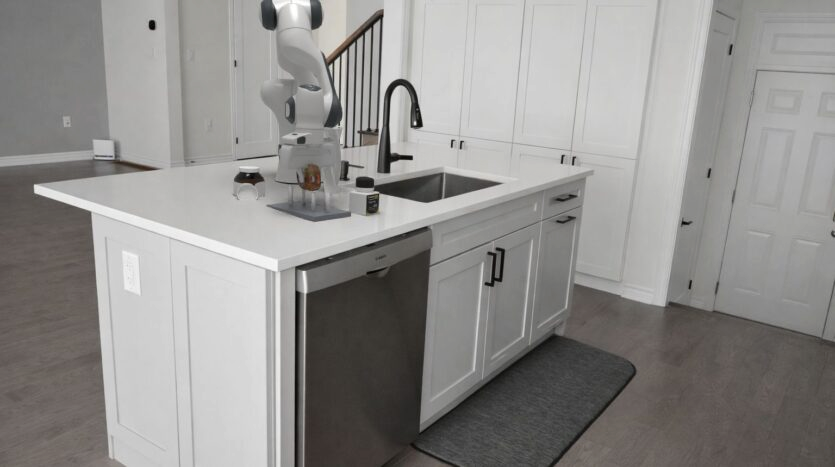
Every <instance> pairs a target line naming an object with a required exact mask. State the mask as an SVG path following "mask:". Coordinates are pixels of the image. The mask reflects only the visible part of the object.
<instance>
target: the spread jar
mask: <svg viewBox="0 0 835 467" xmlns="http://www.w3.org/2000/svg"><path fill="white" fill-rule="evenodd" d="M265 183H266V180H265V178H264V176H263V175H262V174H261V173H260V167H259V166H250V165H245V166H244V165H243V166H242V165H241V166H238V173H237V174H236V175H235V176H234V178H233V187H232V188H233V195H234V196H235V197H237V199H238V200H239V201H240V200H255V201H257V199H258V198H261V197H262V198H263V197H264V196H265V194H266V184H265Z"/></svg>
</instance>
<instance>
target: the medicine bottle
mask: <svg viewBox="0 0 835 467" xmlns="http://www.w3.org/2000/svg"><path fill="white" fill-rule="evenodd" d="M348 197H349V199H348V200H349V202H348V204H349V205H348V211H350V212H351V214H356V215H358V216H359V215H360V216H364V217H367V216H368V217H369V216H371V215H376V214H379V213H380V212H379V211H380V191H375V178H373V176H366V175H365V176H363V175H362V176H357V177H356V178H355V190H353V191H349V196H348Z"/></svg>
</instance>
